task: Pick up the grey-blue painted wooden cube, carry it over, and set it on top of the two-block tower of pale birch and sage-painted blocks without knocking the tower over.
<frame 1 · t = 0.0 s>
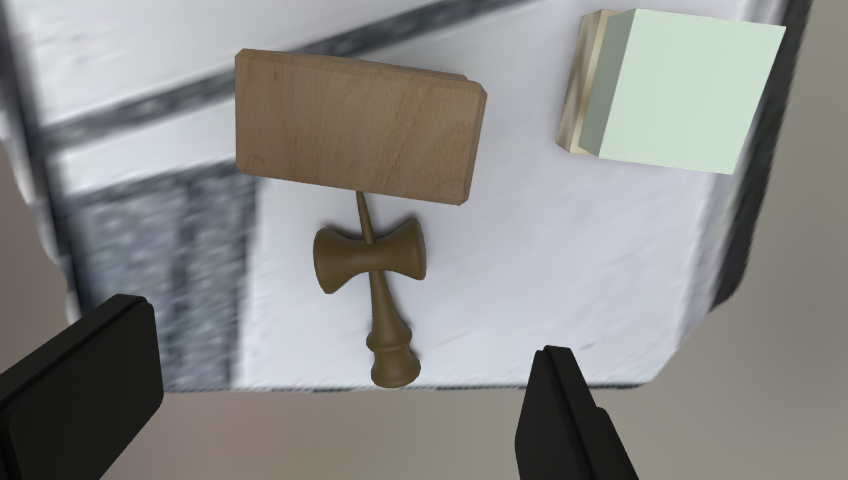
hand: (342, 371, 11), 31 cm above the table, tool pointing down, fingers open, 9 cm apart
decorative block: (398, 100, 39), on the table
kendama: (383, 276, 45), on the table
lower tower block: (627, 89, 38), on the table
upper tower block: (653, 91, 33), point 5 cm above the table
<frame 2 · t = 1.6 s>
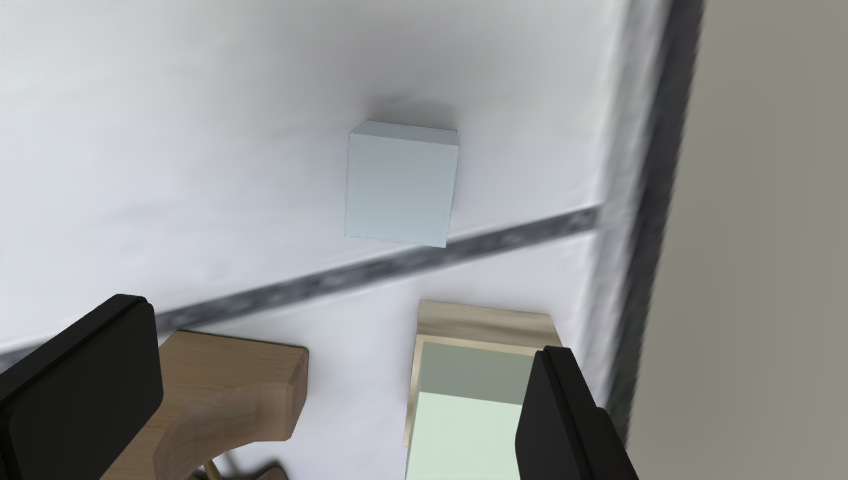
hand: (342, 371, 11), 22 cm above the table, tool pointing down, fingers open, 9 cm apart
decorative block: (243, 363, 38), on the table
grey-blue cube: (407, 169, 31), on the table
lower tower block: (474, 359, 37), on the table, touching upper tower block
upper tower block: (478, 402, 32), point 5 cm above the table, touching lower tower block
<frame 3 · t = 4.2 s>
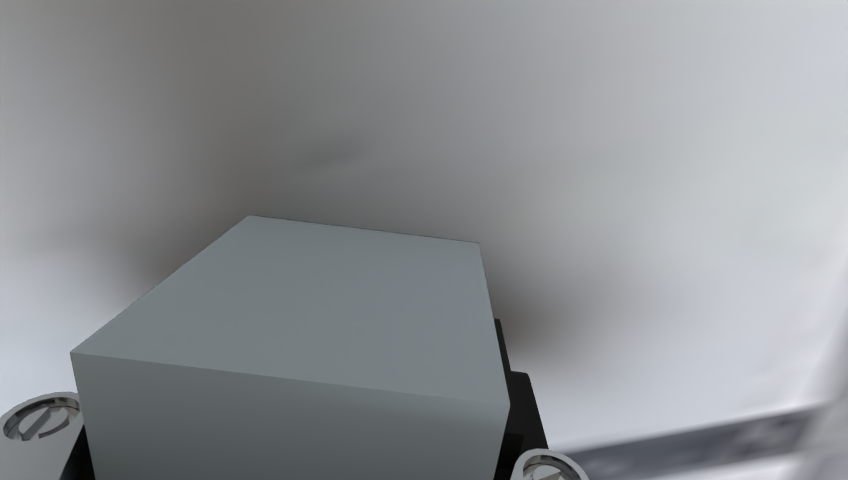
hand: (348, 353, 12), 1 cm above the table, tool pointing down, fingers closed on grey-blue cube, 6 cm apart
grey-blue cube: (356, 328, 13), on the table, touching gripper
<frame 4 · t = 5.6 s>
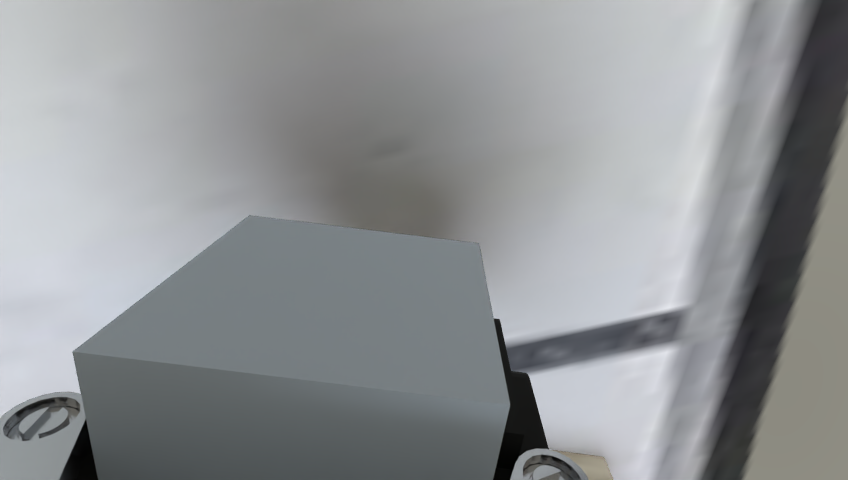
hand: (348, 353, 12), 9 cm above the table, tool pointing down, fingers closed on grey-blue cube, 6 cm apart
grey-blue cube: (357, 328, 13), point 8 cm above the table, touching gripper
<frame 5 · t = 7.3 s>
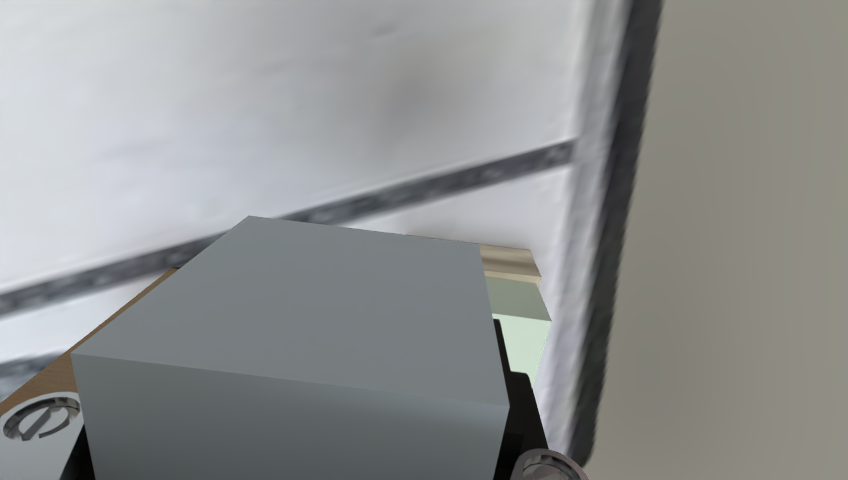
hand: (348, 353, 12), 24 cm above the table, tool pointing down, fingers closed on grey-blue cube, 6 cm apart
decorative block: (236, 301, 39), on the table
grey-blue cube: (356, 328, 13), point 23 cm above the table, touching gripper
lower tower block: (459, 296, 38), on the table, touching upper tower block
upper tower block: (462, 328, 34), point 5 cm above the table, touching lower tower block
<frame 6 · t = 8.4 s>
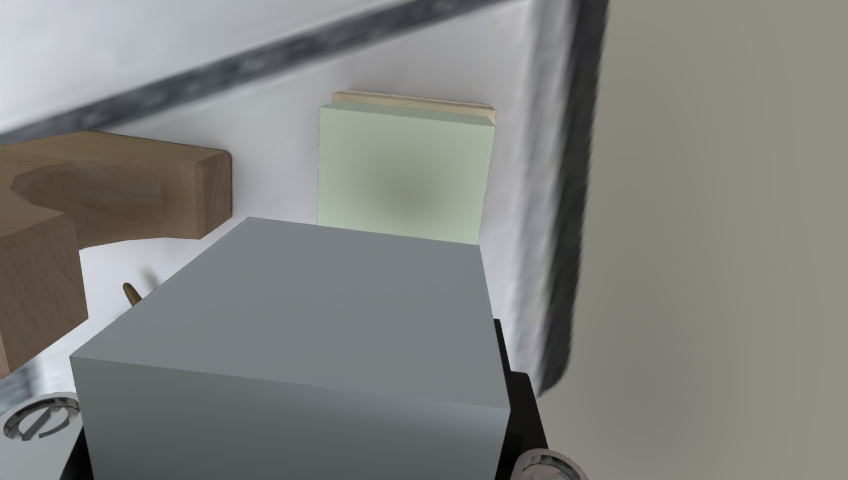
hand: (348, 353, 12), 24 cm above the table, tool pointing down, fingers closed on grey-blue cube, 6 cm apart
decorative block: (163, 175, 35), on the table
grey-blue cube: (356, 330, 13), point 22 cm above the table, touching gripper
lower tower block: (412, 166, 34), on the table, touching upper tower block
upper tower block: (407, 180, 29), point 5 cm above the table, touching lower tower block
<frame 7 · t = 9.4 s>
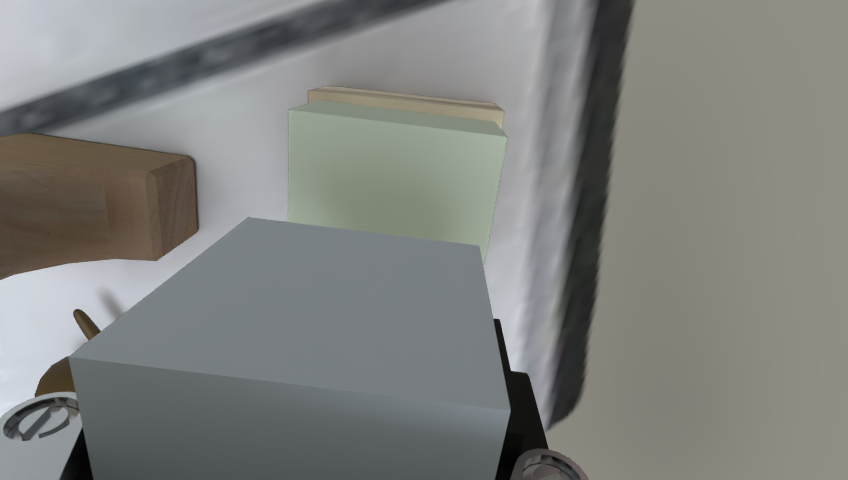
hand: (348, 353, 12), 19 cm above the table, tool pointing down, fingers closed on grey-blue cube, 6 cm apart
decorative block: (117, 184, 30), on the table
kendama: (176, 391, 37), on the table
grey-blue cube: (356, 330, 13), point 18 cm above the table, touching gripper
lower tower block: (405, 174, 29), on the table, touching upper tower block
upper tower block: (398, 195, 25), point 5 cm above the table, touching lower tower block
when the fingers open (12 cm above the table, at t = 11.1 s): grey-blue cube drops 1 cm, resting on upper tower block.
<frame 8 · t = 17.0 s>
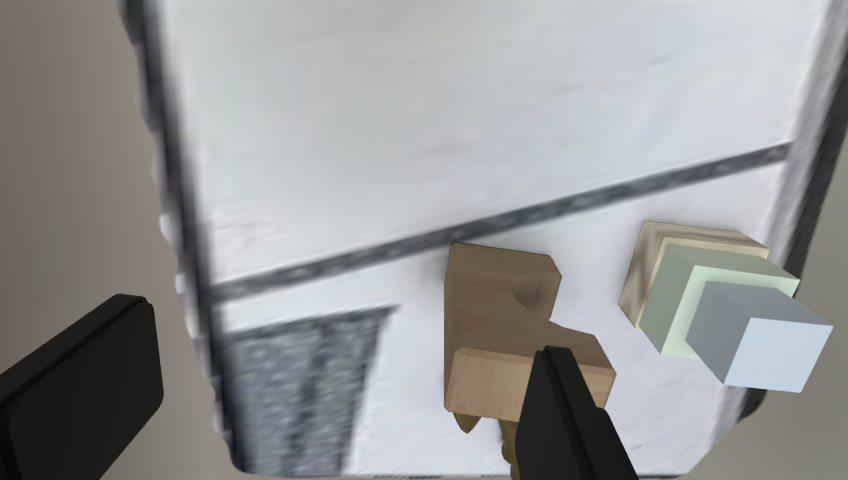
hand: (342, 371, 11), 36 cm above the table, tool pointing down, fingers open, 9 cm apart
decorative block: (497, 270, 50), on the table
kendama: (501, 399, 56), on the table
grey-blue cube: (729, 315, 40), point 10 cm above the table, touching upper tower block
lower tower block: (675, 268, 49), on the table, touching upper tower block
upper tower block: (697, 292, 44), point 5 cm above the table, touching grey-blue cube, lower tower block
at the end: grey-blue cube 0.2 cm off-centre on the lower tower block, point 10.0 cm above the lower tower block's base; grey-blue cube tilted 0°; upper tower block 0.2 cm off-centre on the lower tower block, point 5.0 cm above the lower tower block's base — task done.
